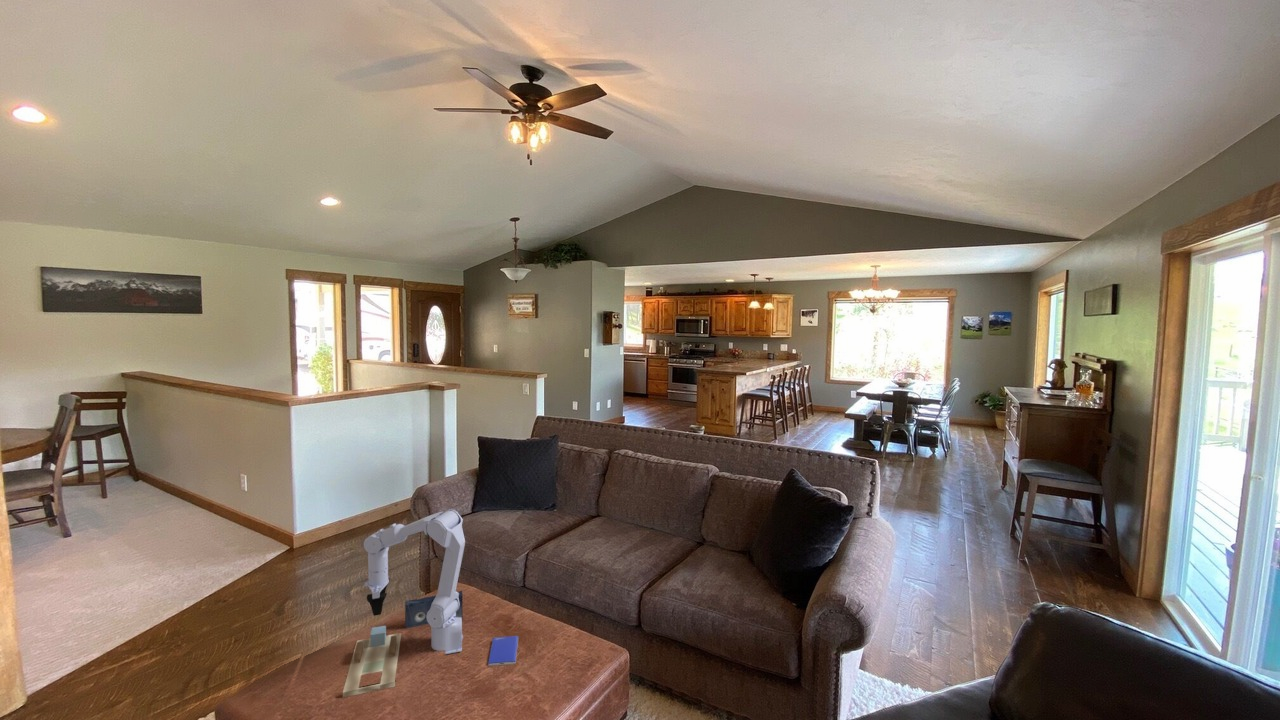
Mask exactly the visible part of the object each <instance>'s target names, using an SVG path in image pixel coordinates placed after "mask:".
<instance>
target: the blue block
mask: <svg viewBox="0 0 1280 720" xmlns="http://www.w3.org/2000/svg"><path fill="white" fill-rule="evenodd" d="M369 635H370V636H369V638H370V645H371V647H375V646H380V645H385V640H386V635H387V626H386V625H380V626H374V627H371V631H370V634H369Z"/></svg>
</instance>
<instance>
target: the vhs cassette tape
mask: <svg viewBox="0 0 1280 720" xmlns="http://www.w3.org/2000/svg"><path fill="white" fill-rule="evenodd" d="M457 592H458V593H459V603H460V606H459V609H458V610H457V611H456V616H455V617H462V621H463V619H464V616H463V608H464V606H463V602H464V601H463V595H464V594H463V591H462V590H460V591H457ZM435 597H436V595H432V596H426V597H422V598H418V599H417V598H416V599H410V600H405V601H404V603H405V604H404V605H405V606H404V610H405V611H404V613H405V614H404V615H405V617H404V618H405V621H404V622H405V623H404V625H405V630H406V629H410V628H417V627H420V626H424V625H429V623H428V622H427V618H426V615H427V612H428V611H429V610H430V608H431V604H432V602H433V601H434V599H435Z"/></svg>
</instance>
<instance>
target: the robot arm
mask: <svg viewBox="0 0 1280 720" xmlns="http://www.w3.org/2000/svg"><path fill="white" fill-rule="evenodd" d="M463 521H464V518H462V516H461V515H460V514H459V512H458V511H456V510H455V509H447V510H445V511H438V512H436V513H433V514H430V515H428V516H425V517H423V518H419V520H416V521H413V522H411V523H409V524H407V525H406V524H402V523H398V524H397V523H396V522H395V523H393V524H391V525H389V527H387V528H385V529H384V528H380V529H378V531H376V532H374V533H372V534H371V535H369V536H367V537H366V538H365V539H364V540H363V548H364V550H365V552H366V553H367V561H368V562H367V564H368V565H367V567H368V568H367V569H368V572H367V573H368V574H367V575H368V580H366V581H365V582H364V587H368V589H369V590H370V592H371V593H370V594H367V595H366V601H367V603H369V604H370V608H371V611H372V615H373V616H381V615H382V612H383V606H384V602H385V599H386V598H387V594H388V593H387V592H386V591H387V587H388V585H389V583H390V577H389V550H390V547H392V546H395V545H398V544H401V543H403V542H405V541H406V540H407V539H408V536H412V535H414V534H417V533H421V532H424V534H425V536H429V538H431V539H432V540H434V541H435V542H436V543H437V544H439V545H440V546H441V547H442V548H445V551H444V555H443V556H444V557H443V563H442V567H441V572H440V577H439V583H438V588H437V593H436V595H435V596H436V597H435V599H434V601H433V602H432V604H431V608H430V610H429V611H428V612H427V615H426V618H427V622H428V623H429V624H428V625H429V626H430V628H431V629H430V630H431V631H430V633H431V634H430V639H431V643H430V644H431V648H432V650H434V651H438V652H439V651H440V652H441V651H444V655H449V654H455V653H459V652H462V651H463V641H464V634H463V620H462V617H455V616H456V611H457V610H458V609H459V606H460V603H459V593H458V592H459V591H457V585H458V580H459V576H460V571H461V565H462V561H463V556H464V551H465V546H466V539H465V534H464V531H463Z"/></svg>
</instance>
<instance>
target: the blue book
mask: <svg viewBox="0 0 1280 720" xmlns="http://www.w3.org/2000/svg"><path fill="white" fill-rule="evenodd" d="M491 642H492V643H491V647H490V651H489V652H490V653H489V657H488V658H489V659H488V662H487V666H488V667H491V666H493V667H494V666H502V665H503V666H504V665H505V666H506V665H515V664H516V661H517V652H518V644H519V636H518V635H514V636H513V635H512V636H511V635H509V636H501V637H500V636H499V637H493V638H492V641H491Z"/></svg>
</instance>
